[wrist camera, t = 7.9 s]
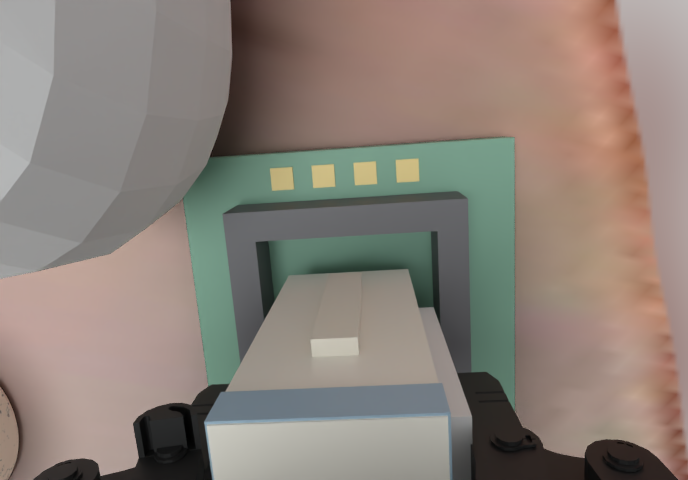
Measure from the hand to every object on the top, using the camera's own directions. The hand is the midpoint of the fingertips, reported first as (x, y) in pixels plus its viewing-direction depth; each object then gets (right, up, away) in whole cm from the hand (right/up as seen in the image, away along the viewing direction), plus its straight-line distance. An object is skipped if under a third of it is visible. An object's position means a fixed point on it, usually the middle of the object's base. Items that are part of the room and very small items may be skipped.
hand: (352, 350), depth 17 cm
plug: (0, 0, +1) cm, 1 cm away
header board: (0, +1, +4) cm, 4 cm away
